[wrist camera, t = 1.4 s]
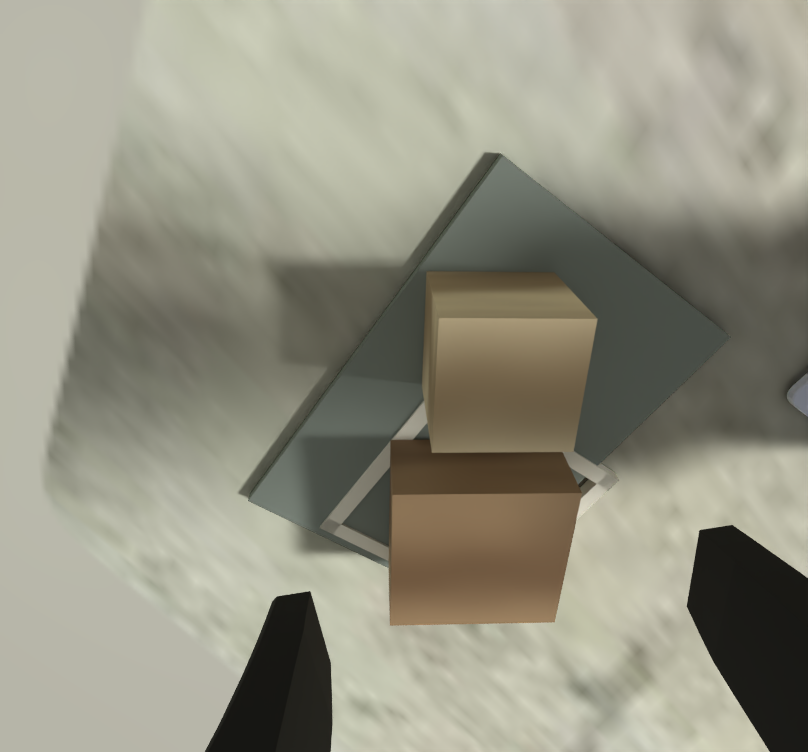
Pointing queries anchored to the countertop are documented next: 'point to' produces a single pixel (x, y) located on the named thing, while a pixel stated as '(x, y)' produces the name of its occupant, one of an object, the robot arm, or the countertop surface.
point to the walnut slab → (478, 535)
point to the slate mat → (403, 362)
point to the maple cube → (504, 361)
